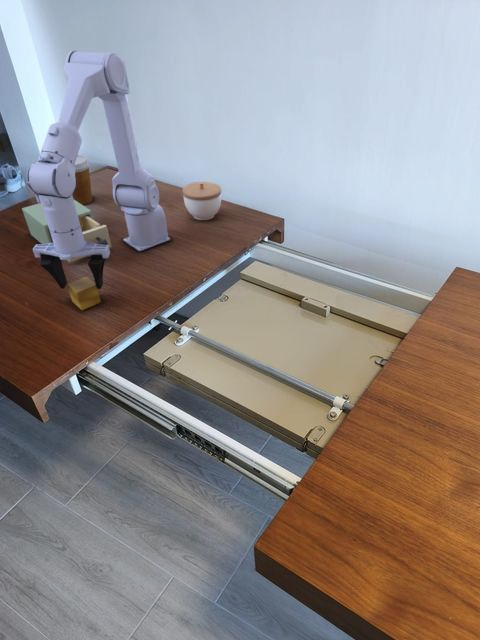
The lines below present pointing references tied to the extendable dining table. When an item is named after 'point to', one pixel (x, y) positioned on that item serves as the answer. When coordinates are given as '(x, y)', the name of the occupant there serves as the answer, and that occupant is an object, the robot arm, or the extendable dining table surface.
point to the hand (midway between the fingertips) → (82, 286)
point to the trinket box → (202, 199)
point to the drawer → (92, 233)
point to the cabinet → (39, 223)
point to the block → (84, 293)
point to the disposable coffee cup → (82, 181)
